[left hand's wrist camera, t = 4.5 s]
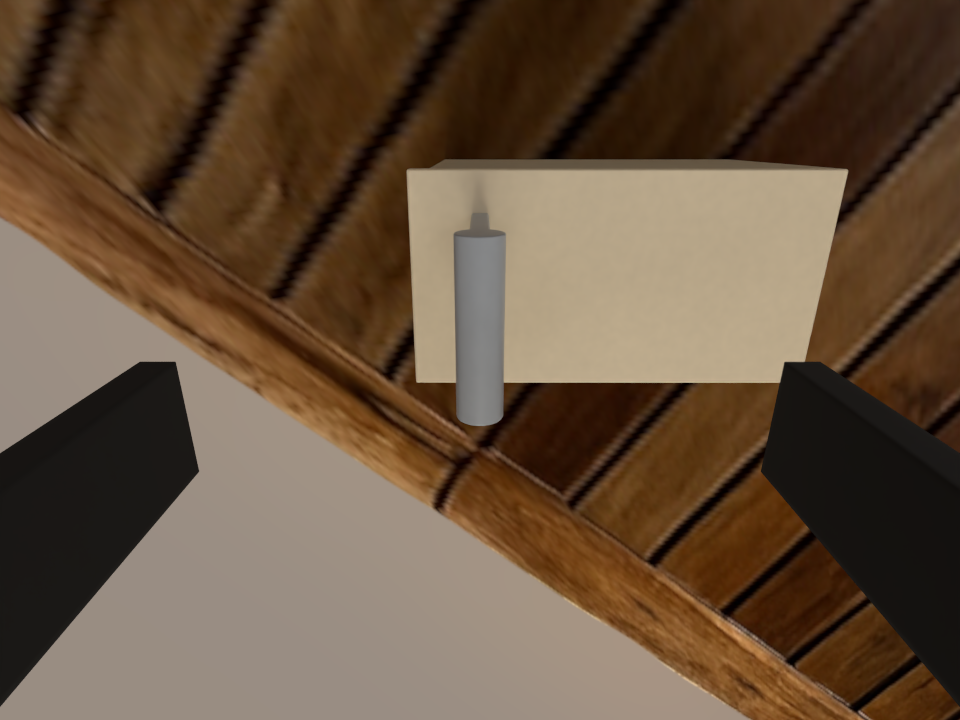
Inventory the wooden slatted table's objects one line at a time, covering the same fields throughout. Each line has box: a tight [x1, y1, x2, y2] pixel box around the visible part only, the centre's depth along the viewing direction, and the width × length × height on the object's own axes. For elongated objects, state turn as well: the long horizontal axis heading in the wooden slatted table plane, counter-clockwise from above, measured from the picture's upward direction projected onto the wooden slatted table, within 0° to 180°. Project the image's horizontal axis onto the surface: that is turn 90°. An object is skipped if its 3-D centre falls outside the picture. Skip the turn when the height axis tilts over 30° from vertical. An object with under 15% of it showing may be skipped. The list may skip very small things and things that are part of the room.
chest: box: [431, 159, 826, 168], centre depth 30 cm, size 17×9×11 cm, turn 90°
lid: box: [407, 168, 848, 426], centre depth 21 cm, size 18×9×8 cm, turn 90°
